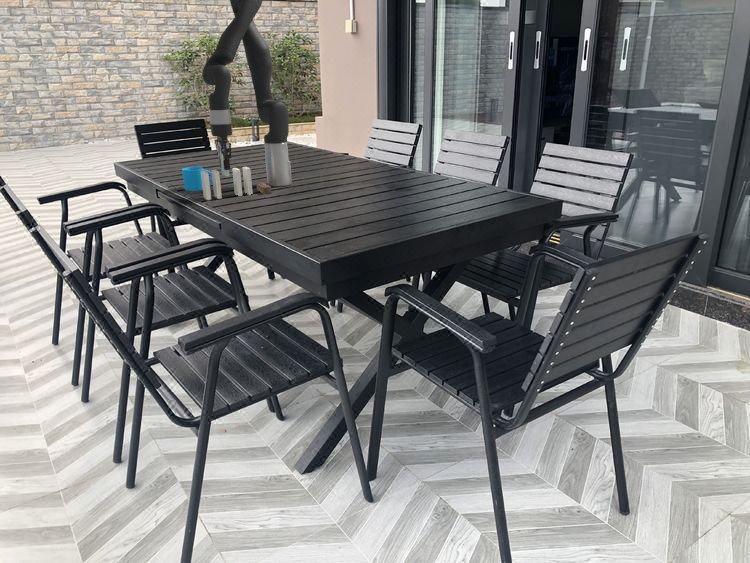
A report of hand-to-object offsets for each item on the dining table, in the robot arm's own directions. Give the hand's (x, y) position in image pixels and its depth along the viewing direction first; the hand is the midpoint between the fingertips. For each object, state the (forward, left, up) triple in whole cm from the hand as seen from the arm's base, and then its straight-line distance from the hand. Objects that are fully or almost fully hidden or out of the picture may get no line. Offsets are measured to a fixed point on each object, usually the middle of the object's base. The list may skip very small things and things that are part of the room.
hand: (225, 168), depth 231 cm
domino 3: (0, 0, -2) cm, 2 cm away
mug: (+6, -21, -11) cm, 24 cm away
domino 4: (-4, 0, -11) cm, 11 cm away
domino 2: (+4, 0, -11) cm, 11 cm away
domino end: (-8, 0, -11) cm, 13 cm away
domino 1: (+8, 0, -11) cm, 13 cm away
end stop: (-14, 0, -11) cm, 18 cm away
